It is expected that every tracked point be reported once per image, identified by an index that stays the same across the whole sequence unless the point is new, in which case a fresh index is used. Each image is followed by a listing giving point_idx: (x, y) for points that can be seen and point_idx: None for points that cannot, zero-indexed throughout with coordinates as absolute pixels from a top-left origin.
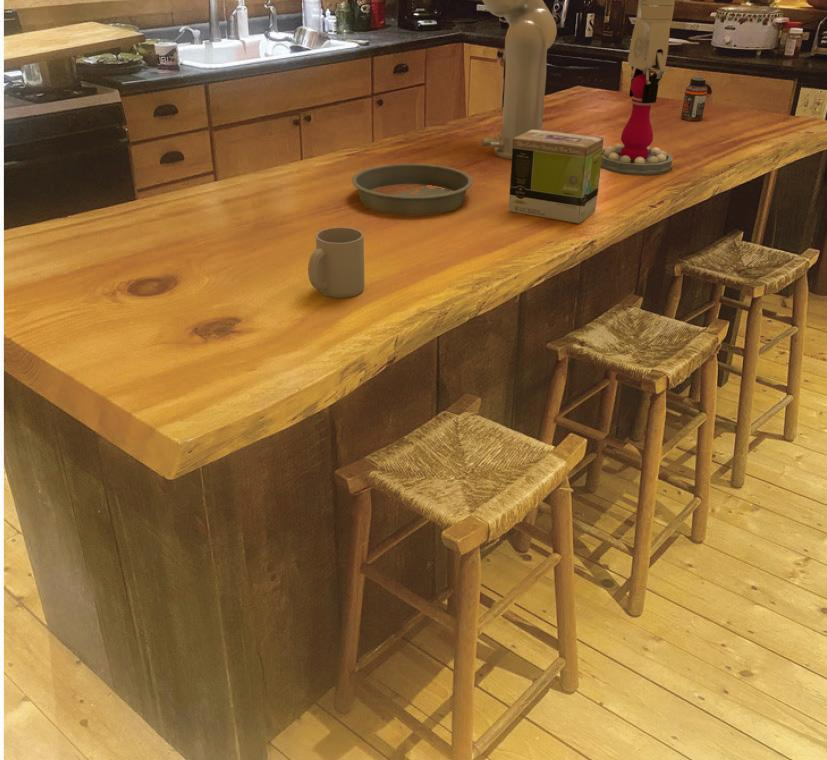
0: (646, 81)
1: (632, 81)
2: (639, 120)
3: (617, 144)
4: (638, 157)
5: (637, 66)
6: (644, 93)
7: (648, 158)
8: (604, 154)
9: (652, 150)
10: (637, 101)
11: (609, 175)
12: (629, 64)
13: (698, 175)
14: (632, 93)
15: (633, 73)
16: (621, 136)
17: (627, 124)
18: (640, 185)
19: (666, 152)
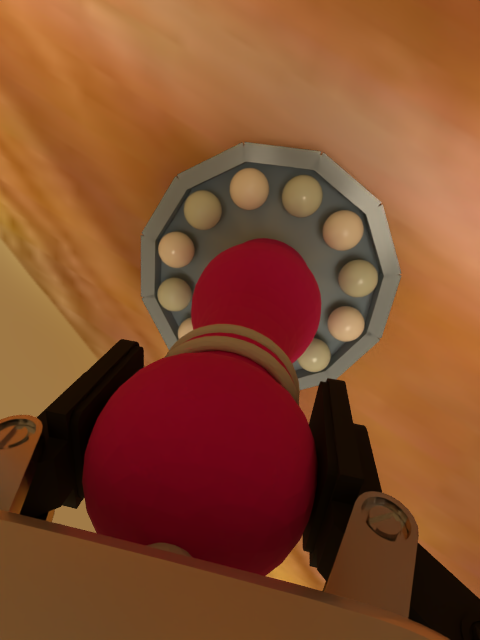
0: (30, 437)
1: (240, 411)
2: (204, 315)
3: (361, 277)
4: (170, 246)
5: (42, 549)
6: (92, 372)
7: (179, 286)
8: (299, 175)
9: None
10: (188, 340)
11: (178, 127)
12: (420, 627)
13: None
14: (319, 398)
15: (365, 537)
16: (282, 250)
17: (263, 279)
18: (62, 171)
19: None
